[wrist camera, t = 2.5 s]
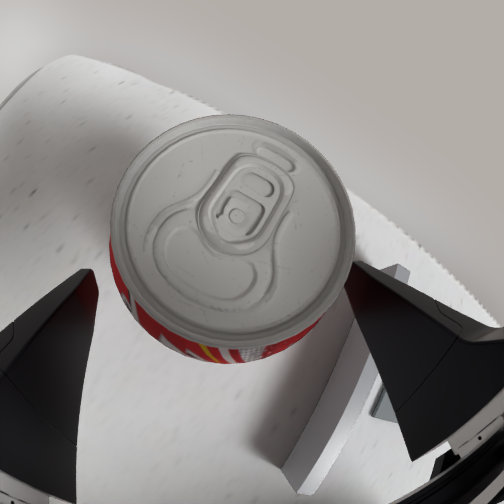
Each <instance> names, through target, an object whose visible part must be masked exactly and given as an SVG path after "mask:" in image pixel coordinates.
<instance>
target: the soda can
mask: <svg viewBox="0 0 504 504" xmlns="http://www.w3.org/2000/svg"><path fill="white" fill-rule="evenodd" d="M109 249H110V263H111V268H112V272H113V276H114V280H115V283H116V286H117V288H118V290H119V293H120V295H121V297H122V299H123V302H124V303H125V305H126V306H127V308H128V309H129V311H130V312H131V314H132V315H133V317H134V318H135V320H136V321H137V322H138V323H139V324H140V325H141V326H142V327H143V328H144V329H145V330H146V331H147V332H148V333H149V334H150V335H151V336H153V337H154V338H155V339H157V340H158V341H159V342H161V343H162V344H163V345H165V346H166V347H168V348H170V349H172V350H174V351H176V352H178V353H180V354H182V355H184V356H188V357H191V358H194V359H197V360H201V361H205V362H213V363H221V364H232V363H246V362H250V361H255V360H259V359H263V358H266V357H268V356H271V355H273V354H276V353H278V352H281V351H283V350H285V349H286V348H288V347H290V346H291V345H293V344H294V343H296V342H297V341H299V340H300V339H302V338H303V337H304V336H305V335H306V334H307V333H308V332H309V331H310V330H311V329H313V328H314V327H315V325H316V324H317V323H318V322H319V320H320V319H321V318H322V316H323V315H324V314H325V313H326V311H327V310H328V309H329V307H330V306H331V305H332V303H333V302H334V301H335V299H336V298H337V297H338V295H339V294H340V292H341V290H342V288H343V286H344V284H345V282H346V280H347V278H348V275H349V272H350V268H351V265H352V262H353V256H354V249H355V222H354V216H353V210H352V206H351V203H350V200H349V197H348V194H347V192H346V189H345V187H344V185H343V184H342V182H341V180H340V177H339V176H338V174H337V173H336V171H335V170H334V169H333V167H332V166H331V164H330V163H329V162H328V161H327V160H326V158H325V157H324V156H323V155H322V154H321V153H320V152H319V151H318V150H317V149H316V148H315V147H313V146H312V145H311V144H310V143H309V142H308V141H306V140H305V139H303V138H302V137H300V136H299V135H297V134H296V133H294V132H293V131H290V130H288V129H287V128H284V127H282V126H280V125H278V124H276V123H273V122H270V121H266V120H264V119H260V118H255V117H250V116H243V115H230V114H228V115H212V116H207V117H202V118H197V119H193V120H190V121H188V122H185V123H182V124H179V125H177V126H175V127H173V128H171V129H169V130H167V131H166V132H164V133H162V134H161V135H160V136H158V137H157V138H155V139H154V140H153V141H151V142H150V143H149V144H148V145H147V146H146V147H145V148H144V149H143V150H142V151H141V152H140V153H139V154H138V155H137V156H136V158H135V159H134V160H133V162H132V163H131V164H130V166H129V167H128V168H127V170H126V172H125V174H124V176H123V178H122V180H121V182H120V184H119V186H118V188H117V192H116V195H115V198H114V201H113V205H112V212H111V220H110V242H109Z"/></svg>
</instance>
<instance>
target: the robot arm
mask: <svg viewBox="0 0 504 504" xmlns="http://www.w3.org/2000/svg"><path fill="white" fill-rule="evenodd" d="M344 287H345V290H346V293H347V296H348V299H349V302H350V305H351V307H352V310H353V313H354V316H355V319H356V321H357V323H358V326H359V328H360V330H361V332H362V335H363V337H364V339H365V341H366V344H367V346H368V348H369V351H370V353H371V355H372V358H373V360H374V362H375V365H376V367H377V369H378V372H379V374H380V377H381V379H382V382H383V384H384V387H385V389H386V392H387V394H388V397H389V399H390V402H391V405H392V407H393V410H394V413H395V416H396V418H397V421H398V424H399V427H400V429H401V432H402V435H403V438H404V441H405V444H406V447H407V450H408V453H409V456H410V459H411V461H412V462H413V461H415V460H417V459H418V458H420V457H422V456H424V455H425V454H427V453H429V452H430V451H432V450H434V449H435V448H437V447H439V446H440V445H442V444H443V443H445V442H446V441H448V443H449V445H450V447H451V449H450V450H448V451H447V452H446V453H444V454H443V455H441V456H439V457H438V458H436V460H435V464H434V467H433V471H432V474H431V477H430V480H429V481H428V482H427V483H425V484H424V485H422V486H420V487H419V488H417V489H415V490H414V491H412V492H410V493H408V494H406V495H405V496H403V497H401V498H399V499H397V500H395V501H393V502H391V503H389V504H497V503H499V502H502V501H503V500H504V327H502V328H493V327H489V326H486V325H484V324H482V323H480V322H478V321H476V320H474V319H472V318H470V317H468V316H466V315H464V314H462V313H460V312H458V311H456V310H454V309H452V308H450V307H448V306H446V305H444V304H442V303H441V302H439V301H437V300H434V299H433V298H431V297H430V296H428V295H426V294H424V293H422V292H420V291H418V290H416V289H415V288H413V287H411V286H409V285H407V284H405V283H403V282H401V281H399V280H397V279H395V278H393V277H392V276H390V275H388V274H386V273H384V272H382V271H380V270H378V269H376V268H374V267H372V266H370V265H368V264H366V263H364V262H362V261H353V262H352V265H351V268H350V272H349V275H348V278H347V280H346V282H345V284H344ZM98 296H99V291H98V286H97V283H96V279H95V275H94V272H93V270H92V269H80V270H79V271H77V272H76V273H75V274H73V275H72V276H70V277H69V278H68V279H66V280H65V281H64V282H62V283H61V284H60V285H58V286H57V287H56V288H54V289H53V290H52V291H50V292H49V293H48V294H46V295H45V296H44V297H42V298H41V299H40V300H39V301H37V302H36V303H35V304H34V305H32V306H31V307H30V308H29V309H27V310H26V311H25V312H24V313H22V314H21V315H20V316H19V317H18V318H16V319H15V320H14V322H12V323H10V324H9V325H8V326H7V327H6V328H5V329H3V330H2V331H1V332H0V504H49V497H52V498H55V499H58V500H61V501H65V502H68V503H72V504H76V455H77V447H76V446H77V435H78V424H79V414H80V405H81V398H82V391H83V384H84V378H85V372H86V366H87V361H88V356H89V351H90V346H91V342H92V337H93V332H94V324H95V316H96V309H97V302H98Z"/></svg>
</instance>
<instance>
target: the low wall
mask: <svg viewBox="0 0 504 504" xmlns="http://www.w3.org/2000/svg"><path fill="white" fill-rule="evenodd" d="M380 271H382V272H384V273H386V274H388V275H390V276H392V277H393V278H395V279H397V280H399V281H401V282H403V283H405V284H407V283H408V279H409V275H410V271H409V270H407V269H406V268H404V267H403V266H401V265H400V264H395V265H392V266H390V267H387V268H384V269H381V270H380ZM377 375H378V369H377V367H376V365H375V362H374V360H373V358H372V355H371V353H370V351H369V348H368V346H367V344H366V341H365V339H364V337H363V335H362V332H361V330H360V328H359V326H358V323H357V321H356V319H355V318H354V321H353V323H352V326H351V329H350V331H349V334H348V336H347V339H346V341H345V344H344V346H343V349H342V351H341V353H340V356H339V358H338V361H337V363H336V365H335V367H334V370H333V372H332V374H331V376H330V379H329V381H328V383H327V385H326V387H325V389H324V391H323V393H322V396H321V398H320V400H319V402H318V404H317V406H316V408H315V410H314V412H313V414H312V415H311V417H310V419H309V421H308V423H307V425H306V427H305V429H304V431H303V432H302V434H301V436H300V438H299V440H298V441H297V443H296V445H295V447H294V448H293V450H292V452H291V453H290V455H289V457H288V458H287V460H286V462H285V463H284V465H283V467H282V468H281V471H282V473H283V474H284V476H285V477H286V479H287V480H288V482H289V483H290V485H291V486H292V487H293V489H294V490H295V492H296V493H298V494H305V495H313V494H314V493H315V491H316V490H317V488H318V487H319V485H320V484H321V482H322V481H323V479H324V478H325V476H326V474H327V473H328V471H329V470H330V468H331V466H332V465H333V463H334V462H335V460H336V458H337V456H338V455H339V453H340V451H341V449H342V448H343V446H344V444H345V442H346V440H347V439H348V437H349V435H350V433H351V431H352V429H353V427H354V425H355V423H356V421H357V419H358V417H359V415H360V413H361V411H362V409H363V407H364V405H365V403H366V400H367V398H368V396H369V394H370V391H371V389H372V387H373V384H374V382H375V380H376V377H377Z"/></svg>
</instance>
